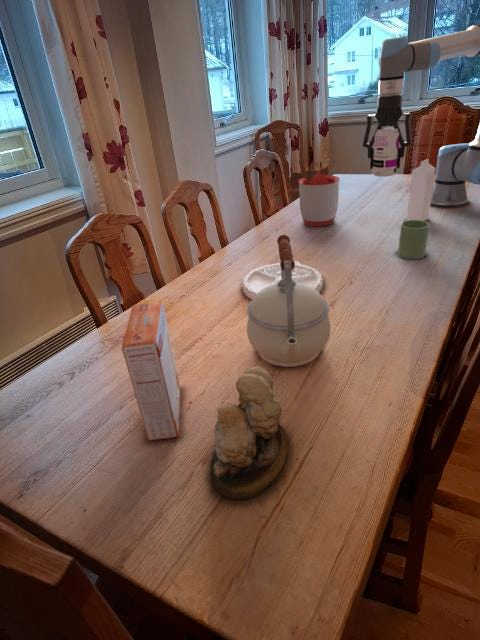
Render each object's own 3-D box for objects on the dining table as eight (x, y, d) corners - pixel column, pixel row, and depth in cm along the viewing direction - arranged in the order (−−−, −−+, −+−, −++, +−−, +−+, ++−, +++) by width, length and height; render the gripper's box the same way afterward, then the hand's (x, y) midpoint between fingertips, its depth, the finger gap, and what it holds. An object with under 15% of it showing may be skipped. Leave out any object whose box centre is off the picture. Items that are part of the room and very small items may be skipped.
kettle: (249, 326, 108) (240, 231, 95) (322, 322, 107) (323, 225, 94) (248, 391, 86) (236, 278, 74) (340, 386, 85) (344, 271, 73)
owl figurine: (240, 413, 81) (231, 337, 72) (300, 427, 76) (299, 348, 68) (195, 489, 67) (177, 406, 58) (266, 512, 62) (258, 426, 54)
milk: (428, 218, 166) (437, 159, 155) (420, 223, 163) (429, 162, 152) (413, 216, 170) (421, 157, 159) (405, 220, 167) (413, 161, 156)
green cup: (408, 247, 143) (412, 218, 138) (430, 254, 137) (435, 223, 132) (392, 254, 139) (395, 224, 134) (414, 261, 133) (418, 230, 128)
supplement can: (397, 171, 153) (401, 125, 145) (396, 176, 146) (400, 129, 139) (373, 171, 156) (376, 127, 148) (371, 177, 149) (374, 130, 142)
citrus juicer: (324, 213, 183) (325, 164, 173) (345, 224, 169) (347, 171, 159) (291, 219, 180) (289, 170, 170) (309, 231, 165) (309, 178, 155)
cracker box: (152, 392, 89) (131, 303, 78) (181, 388, 89) (164, 299, 78) (145, 442, 76) (119, 345, 66) (179, 438, 77) (158, 340, 66)
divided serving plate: (231, 300, 121) (230, 293, 120) (260, 263, 142) (259, 256, 141) (313, 308, 113) (313, 300, 112) (331, 267, 135) (331, 260, 133)
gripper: (355, 98, 140) (352, 170, 151) (424, 93, 132) (416, 169, 143) (358, 96, 145) (356, 165, 157) (425, 91, 137) (417, 164, 149)
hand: (384, 167), depth 150 cm, fingers closed on supplement can, 8 cm apart
